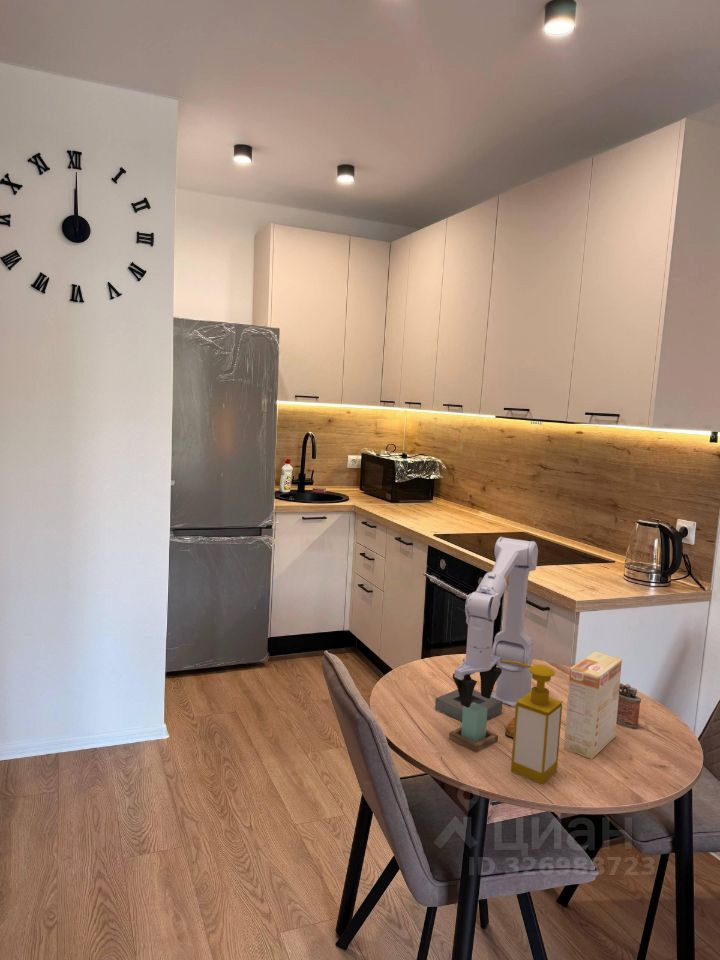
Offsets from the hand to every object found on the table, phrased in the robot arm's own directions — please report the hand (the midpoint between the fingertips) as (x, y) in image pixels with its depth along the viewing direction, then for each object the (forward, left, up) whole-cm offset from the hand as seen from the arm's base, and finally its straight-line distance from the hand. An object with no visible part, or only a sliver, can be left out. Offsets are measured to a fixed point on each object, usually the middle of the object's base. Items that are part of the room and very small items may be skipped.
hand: (475, 701), depth 157 cm
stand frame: (0, 0, -9) cm, 9 cm away
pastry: (-13, +5, -10) cm, 17 cm away
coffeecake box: (-21, +18, -10) cm, 29 cm away
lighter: (-37, +18, -10) cm, 42 cm away
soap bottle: (+1, +14, -10) cm, 17 cm away
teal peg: (0, 0, -10) cm, 10 cm away
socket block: (-11, -10, -9) cm, 18 cm away
